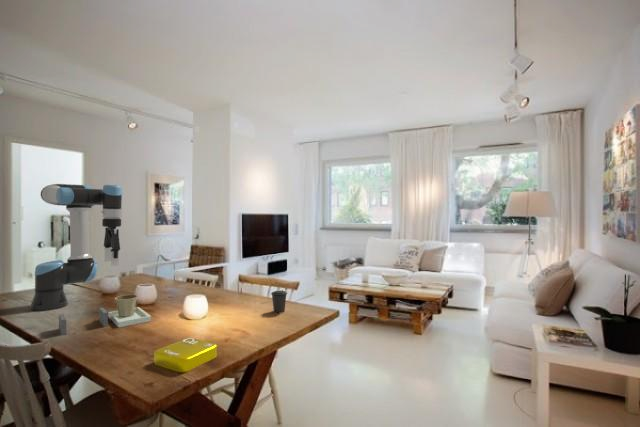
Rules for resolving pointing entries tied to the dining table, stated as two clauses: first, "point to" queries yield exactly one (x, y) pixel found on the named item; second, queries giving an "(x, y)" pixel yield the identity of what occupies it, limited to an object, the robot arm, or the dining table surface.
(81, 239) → the robot arm
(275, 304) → the coffee cup
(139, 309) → the tray
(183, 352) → the element tile
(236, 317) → the dining table surface
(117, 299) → the flower pot
